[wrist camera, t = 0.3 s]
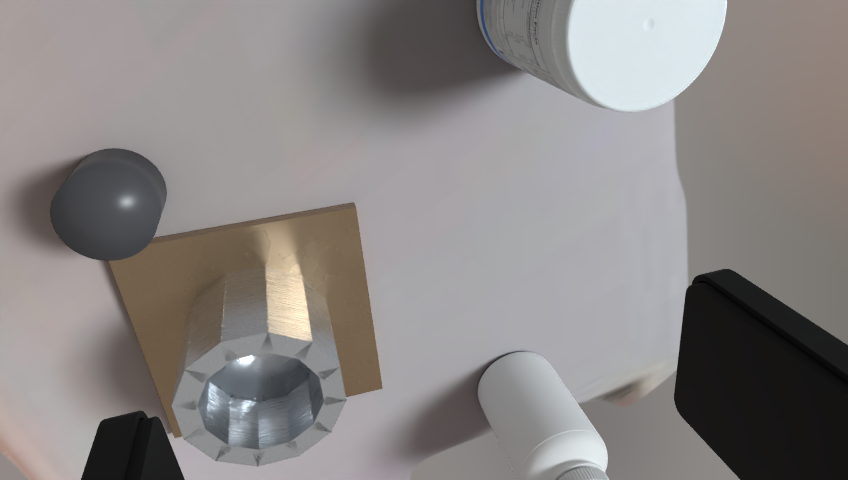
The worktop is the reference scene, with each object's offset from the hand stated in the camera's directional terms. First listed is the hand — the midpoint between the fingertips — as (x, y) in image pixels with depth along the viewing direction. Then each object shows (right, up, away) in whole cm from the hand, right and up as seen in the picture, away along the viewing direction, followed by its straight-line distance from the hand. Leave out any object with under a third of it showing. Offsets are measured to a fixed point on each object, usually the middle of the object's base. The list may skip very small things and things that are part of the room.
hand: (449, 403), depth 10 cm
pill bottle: (+8, -11, +49) cm, 51 cm away
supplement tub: (+7, +20, +33) cm, 39 cm away
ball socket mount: (-14, -4, +39) cm, 41 cm away
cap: (-22, +6, +31) cm, 39 cm away
